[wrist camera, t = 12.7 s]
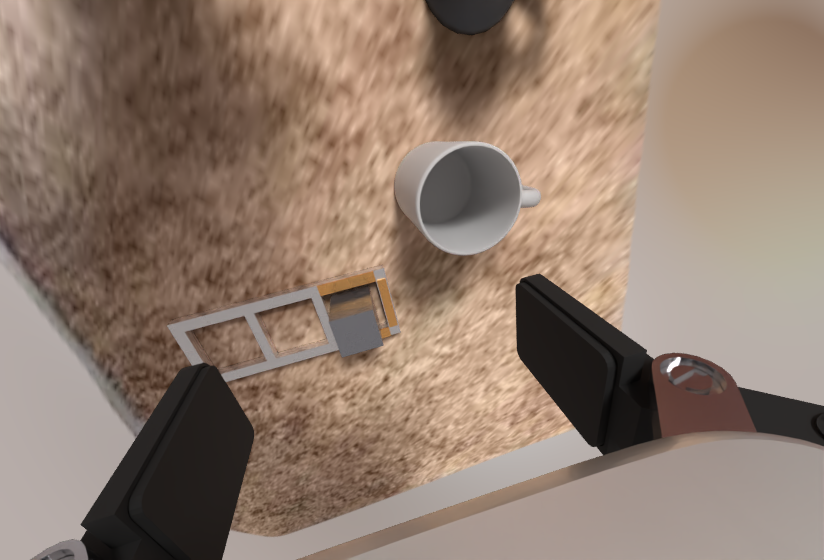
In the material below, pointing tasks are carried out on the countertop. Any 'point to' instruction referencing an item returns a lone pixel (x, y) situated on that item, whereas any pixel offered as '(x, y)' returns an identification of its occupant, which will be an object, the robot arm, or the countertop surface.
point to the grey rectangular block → (354, 321)
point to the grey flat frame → (252, 307)
